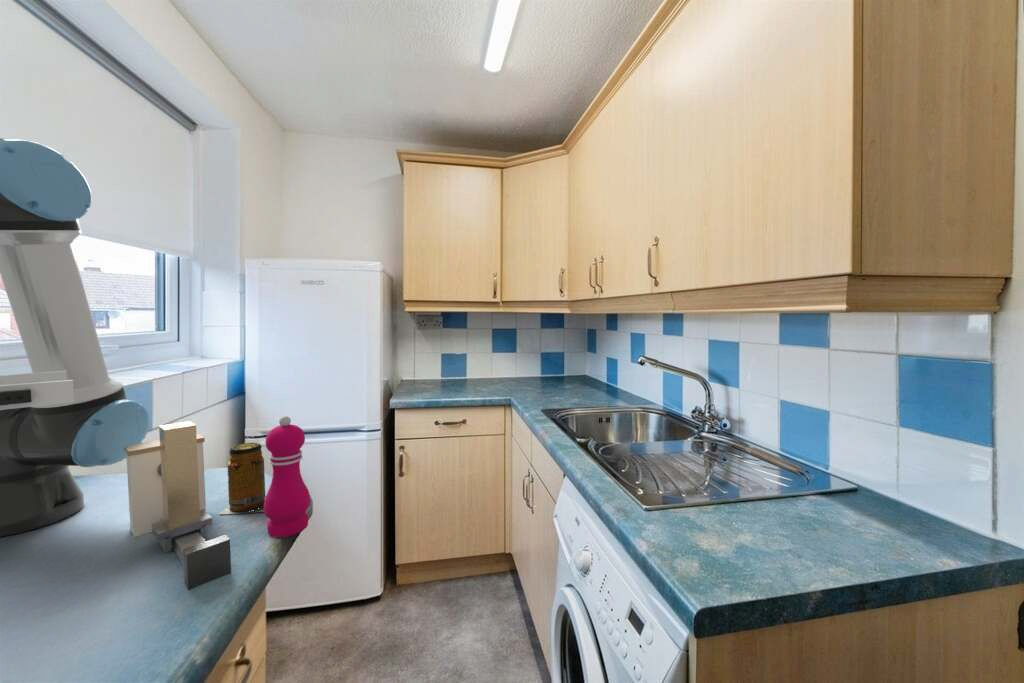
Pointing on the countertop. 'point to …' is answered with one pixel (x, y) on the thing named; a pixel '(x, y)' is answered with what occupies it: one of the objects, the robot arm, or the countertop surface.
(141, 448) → the end cabinet
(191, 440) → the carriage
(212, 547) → the rail
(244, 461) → the condiment
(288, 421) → the pepper mill
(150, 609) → the countertop surface
